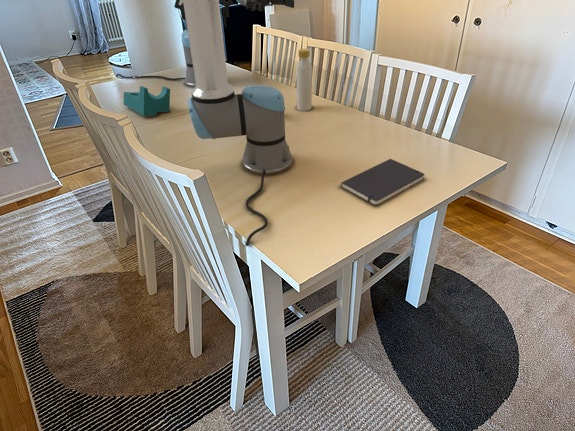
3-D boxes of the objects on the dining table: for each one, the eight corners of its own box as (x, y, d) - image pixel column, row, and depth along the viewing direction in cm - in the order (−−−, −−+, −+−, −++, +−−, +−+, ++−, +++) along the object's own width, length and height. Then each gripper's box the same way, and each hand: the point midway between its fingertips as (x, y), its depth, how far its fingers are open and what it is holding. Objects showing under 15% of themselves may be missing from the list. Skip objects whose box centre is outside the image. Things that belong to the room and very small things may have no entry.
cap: (309, 55, 153) (309, 48, 152) (309, 58, 150) (309, 51, 148) (299, 55, 153) (299, 48, 152) (298, 58, 150) (298, 51, 149)
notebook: (389, 163, 124) (340, 187, 113) (390, 158, 123) (341, 182, 112) (424, 178, 116) (375, 206, 105) (425, 174, 115) (376, 201, 104)
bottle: (311, 105, 166) (312, 49, 153) (311, 110, 161) (311, 53, 148) (297, 105, 166) (296, 49, 153) (296, 110, 161) (295, 53, 148)
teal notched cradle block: (169, 115, 164) (170, 89, 159) (143, 115, 156) (144, 88, 152) (148, 104, 174) (148, 79, 170) (123, 104, 167) (123, 78, 163)
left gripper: (281, 6, 180) (305, 12, 164) (229, 12, 171) (249, 19, 155) (281, -14, 175) (305, -8, 160) (227, -9, 166) (247, -3, 151)
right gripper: (234, -43, 138) (240, 24, 151) (160, -41, 135) (172, 28, 147) (236, -42, 132) (242, 28, 145) (158, -39, 129) (171, 32, 141)
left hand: (278, 5), depth 158 cm, fingers open, 13 cm apart
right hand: (207, 28), depth 146 cm, fingers open, 13 cm apart
